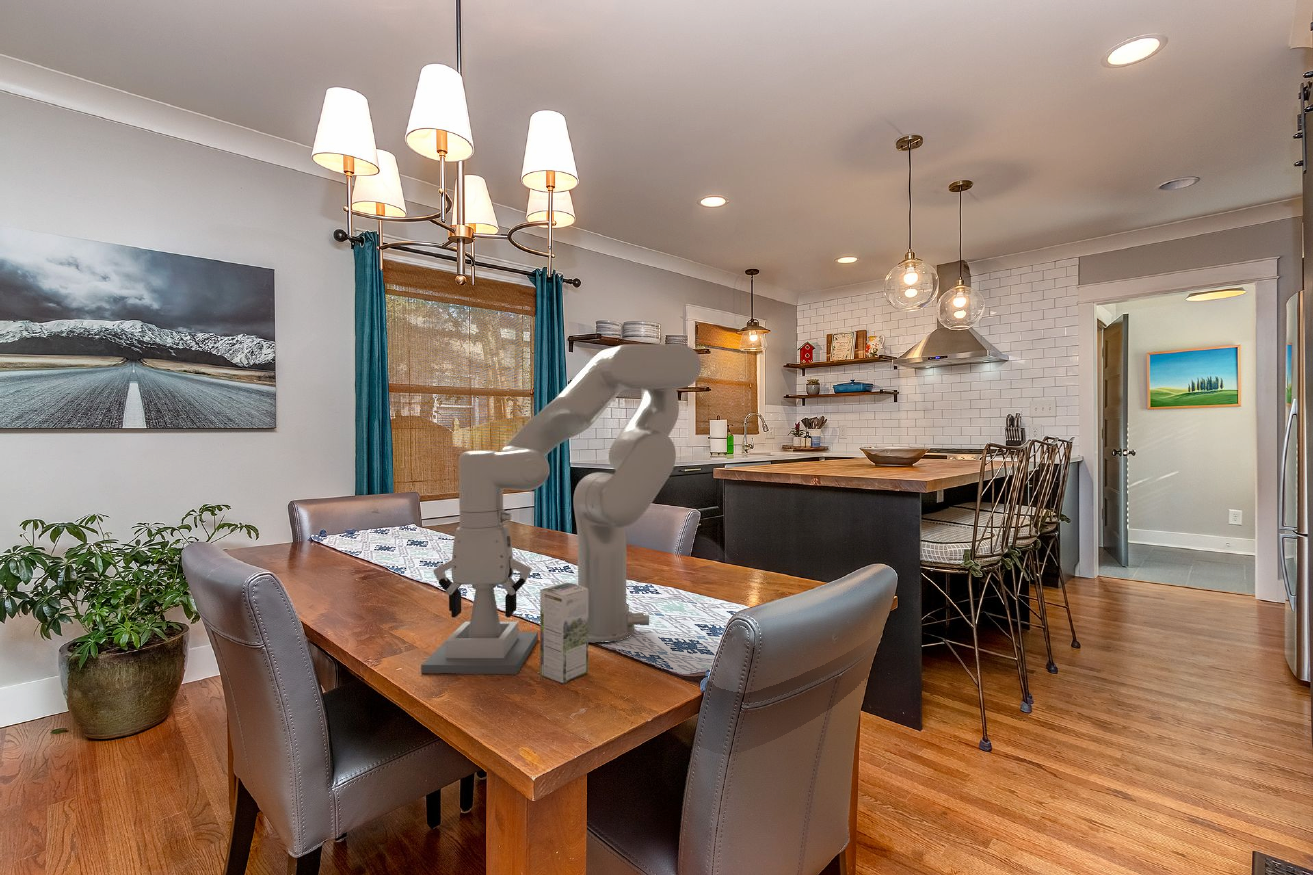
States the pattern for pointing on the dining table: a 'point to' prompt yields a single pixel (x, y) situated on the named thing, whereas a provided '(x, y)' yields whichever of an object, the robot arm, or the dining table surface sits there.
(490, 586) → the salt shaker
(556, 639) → the syrup box
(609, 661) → the dining table surface
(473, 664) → the grey square base
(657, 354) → the robot arm
